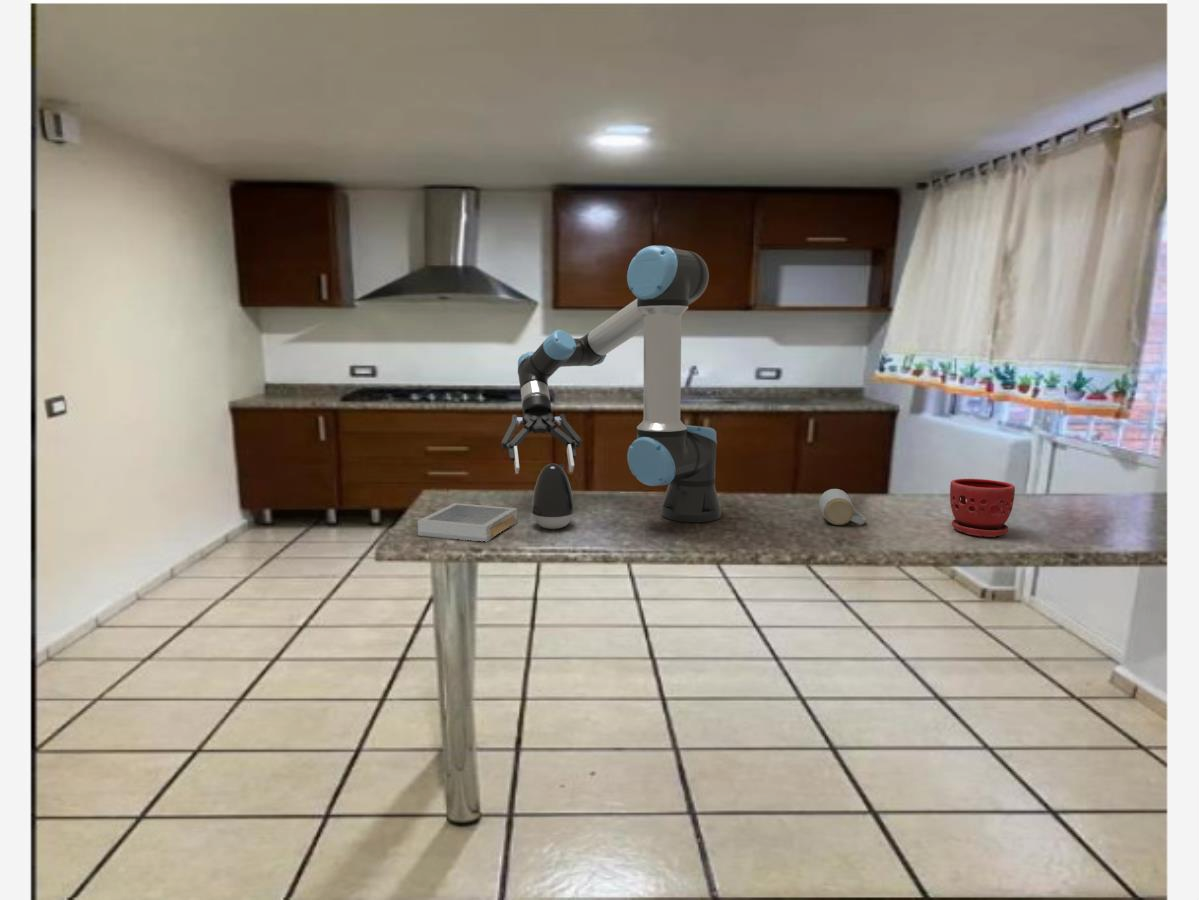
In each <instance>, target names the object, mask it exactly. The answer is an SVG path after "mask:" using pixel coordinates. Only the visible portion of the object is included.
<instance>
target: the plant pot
mask: <svg viewBox="0 0 1199 900" xmlns="http://www.w3.org/2000/svg"><path fill="white" fill-rule="evenodd" d="M1015 493H1016V487H1015V485H1014V484H1012V483H1009V482H1006V481H1002V480H1001V481H1000V480H993V479H984V478H956V479H953V480H951V481H950V485H949V501H950V502H949V503H950V509H951V512H952V515H953V517H954V519H952V521H951V526H952V527H953V528H954V529H955V530H956V531H958V532H959V531H960V532H959V533H961V532H963V534H966V535H970V536H976V537H983V536H984V537H986V538H993V537H994V538H997V537H996V536H999V537H1001V536H1002V535H1005V534H1006V533H1008V531H1009V529H1010V527H1009V526H1008V525H1006V522H1007V521H1008V519H1009V518H1010V516H1011V513H1012V510H1013V507H1014V506H1013V505H1014V500H1015Z"/></svg>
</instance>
